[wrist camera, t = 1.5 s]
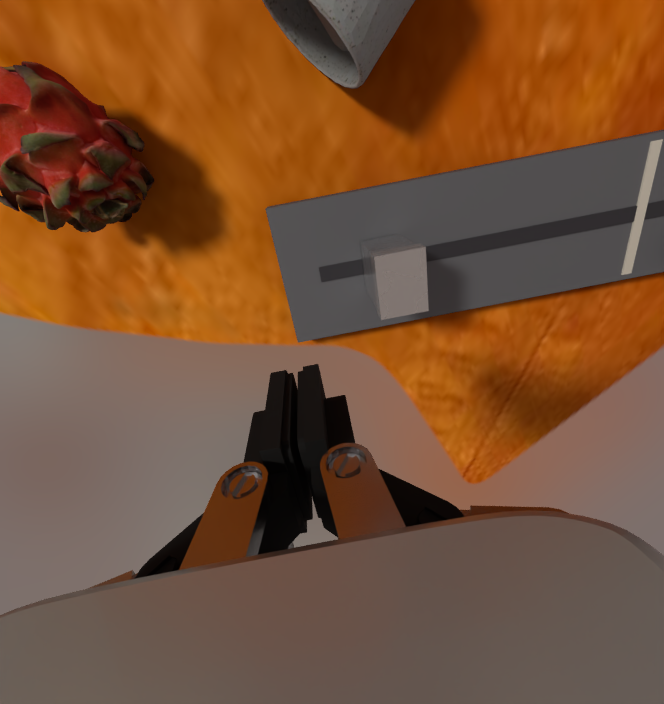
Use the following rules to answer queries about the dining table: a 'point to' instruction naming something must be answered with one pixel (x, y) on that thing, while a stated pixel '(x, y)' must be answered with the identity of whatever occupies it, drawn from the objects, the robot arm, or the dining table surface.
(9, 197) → the dragon fruit
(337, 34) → the ceramic mug
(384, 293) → the fader tab
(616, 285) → the dining table surface
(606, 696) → the robot arm
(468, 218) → the grey slider track
